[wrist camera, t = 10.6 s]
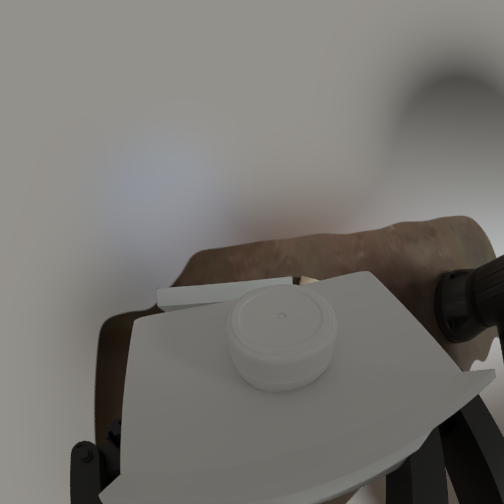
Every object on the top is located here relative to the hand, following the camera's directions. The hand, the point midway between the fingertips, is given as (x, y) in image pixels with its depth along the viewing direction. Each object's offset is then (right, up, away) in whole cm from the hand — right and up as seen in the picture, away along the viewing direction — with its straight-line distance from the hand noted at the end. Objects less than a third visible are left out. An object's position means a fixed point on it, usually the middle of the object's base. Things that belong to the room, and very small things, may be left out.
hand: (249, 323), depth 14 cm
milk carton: (0, -6, +6) cm, 9 cm away
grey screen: (-4, -5, +26) cm, 27 cm away
